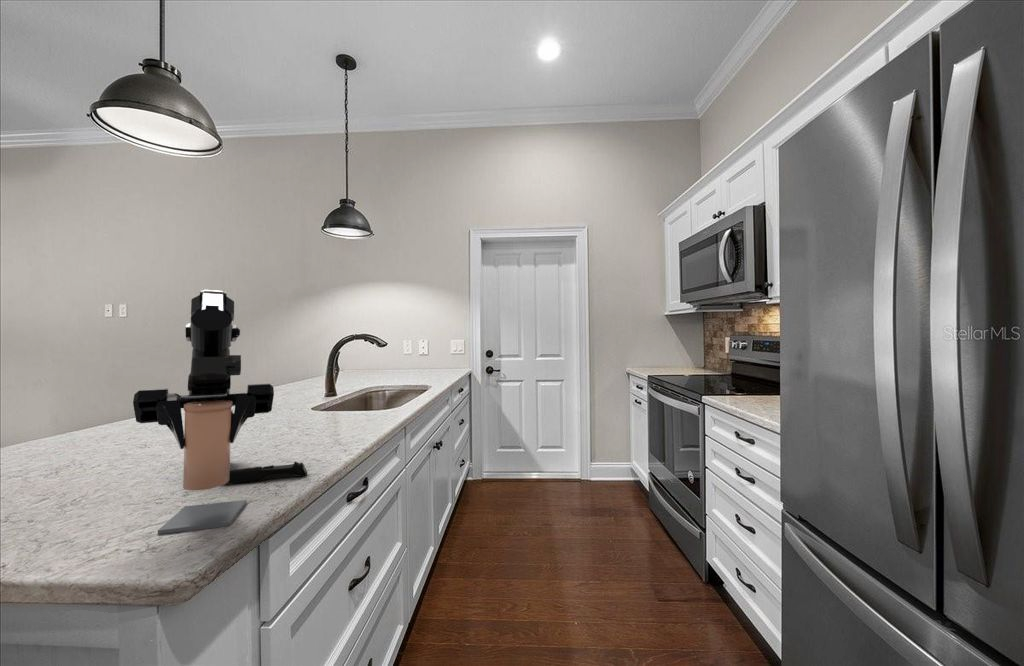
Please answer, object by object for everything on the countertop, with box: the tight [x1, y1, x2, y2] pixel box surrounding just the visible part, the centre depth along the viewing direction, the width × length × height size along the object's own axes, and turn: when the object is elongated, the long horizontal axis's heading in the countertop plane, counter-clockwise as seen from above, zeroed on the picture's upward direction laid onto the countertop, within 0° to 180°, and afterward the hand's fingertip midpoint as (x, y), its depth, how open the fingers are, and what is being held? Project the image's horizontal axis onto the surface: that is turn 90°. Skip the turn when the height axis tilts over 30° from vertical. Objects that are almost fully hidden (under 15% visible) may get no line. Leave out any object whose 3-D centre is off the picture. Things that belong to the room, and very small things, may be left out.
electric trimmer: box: [226, 461, 308, 484], centre depth 83 cm, size 4×16×3 cm, turn 115°
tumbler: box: [182, 400, 233, 491], centre depth 65 cm, size 6×6×13 cm
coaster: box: [157, 499, 248, 535], centre depth 65 cm, size 9×9×1 cm
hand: (207, 444), depth 64 cm, fingers closed on tumbler, 6 cm apart
